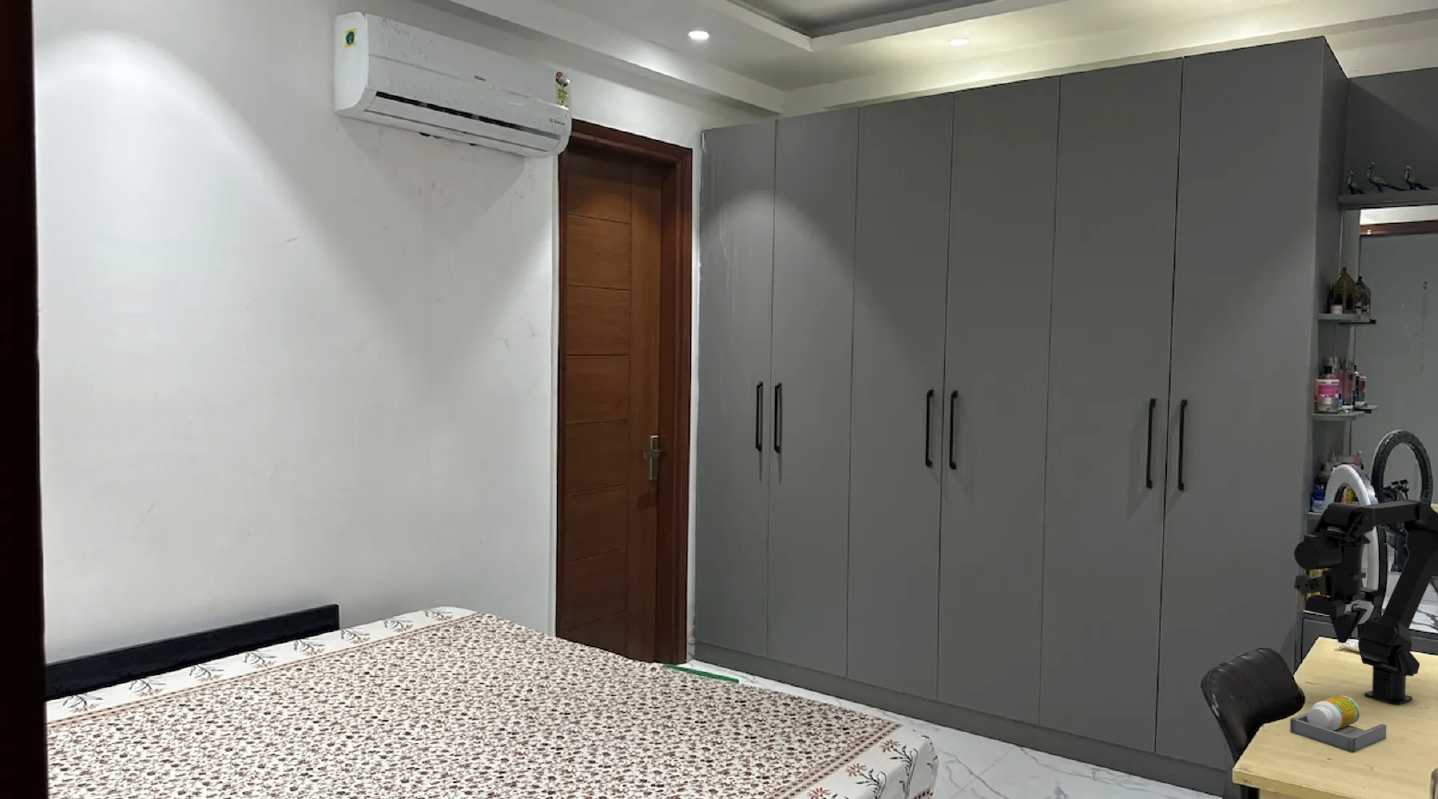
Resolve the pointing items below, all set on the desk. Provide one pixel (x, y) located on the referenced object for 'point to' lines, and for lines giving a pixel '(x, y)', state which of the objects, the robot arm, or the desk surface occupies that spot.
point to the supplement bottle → (1334, 713)
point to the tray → (1338, 734)
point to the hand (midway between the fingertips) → (1342, 642)
